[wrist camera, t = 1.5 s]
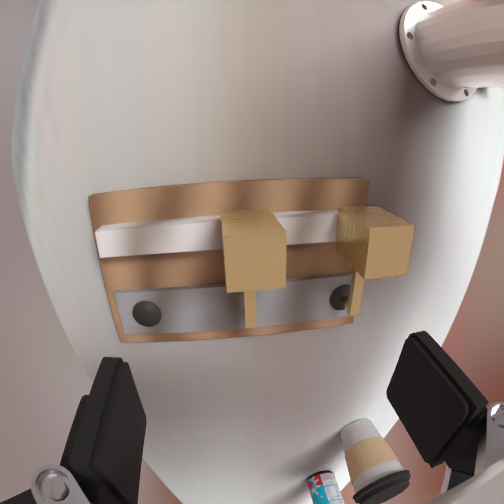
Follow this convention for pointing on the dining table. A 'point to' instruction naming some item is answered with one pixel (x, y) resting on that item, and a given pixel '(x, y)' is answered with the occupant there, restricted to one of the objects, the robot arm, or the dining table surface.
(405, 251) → the fixed leg
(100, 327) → the dining table surface
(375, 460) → the coffee cup
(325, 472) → the beverage can
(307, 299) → the board
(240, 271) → the block
